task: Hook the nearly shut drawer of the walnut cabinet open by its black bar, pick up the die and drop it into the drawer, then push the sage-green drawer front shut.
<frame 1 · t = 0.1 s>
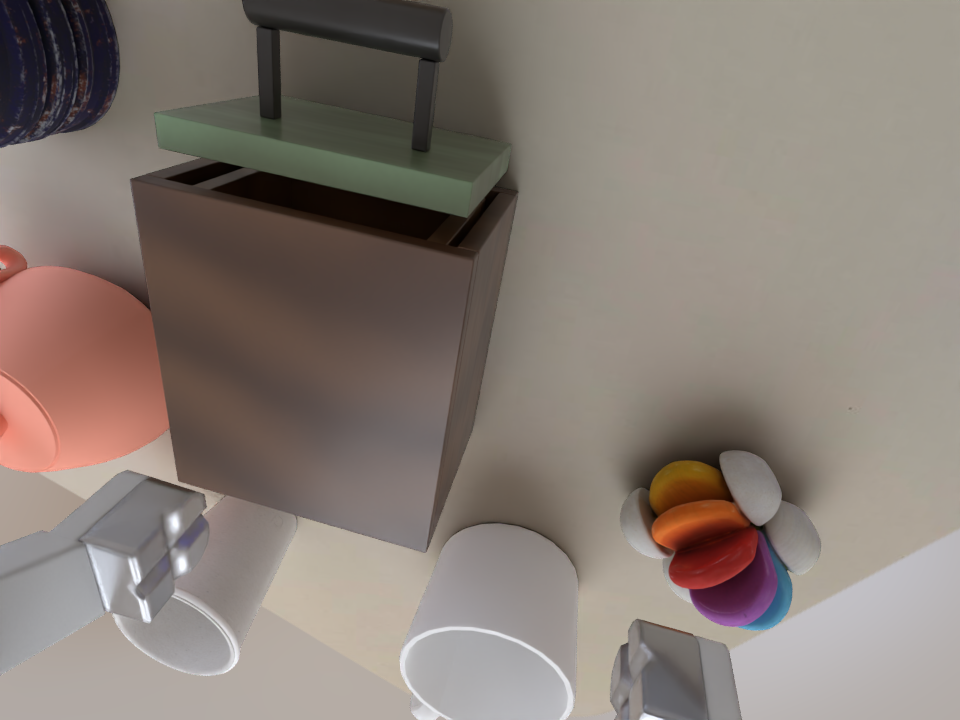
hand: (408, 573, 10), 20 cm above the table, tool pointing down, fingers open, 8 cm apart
sugar bowl: (112, 330, 37), on the table
drawer: (350, 238, 25), point 5 cm above the table, slide at 1.0 cm
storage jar: (33, 27, 28), on the table
cabinet: (381, 299, 31), on the table
rainbow petal toy: (711, 502, 33), on the table
dixie cup: (263, 512, 43), on the table
mug: (495, 579, 41), on the table
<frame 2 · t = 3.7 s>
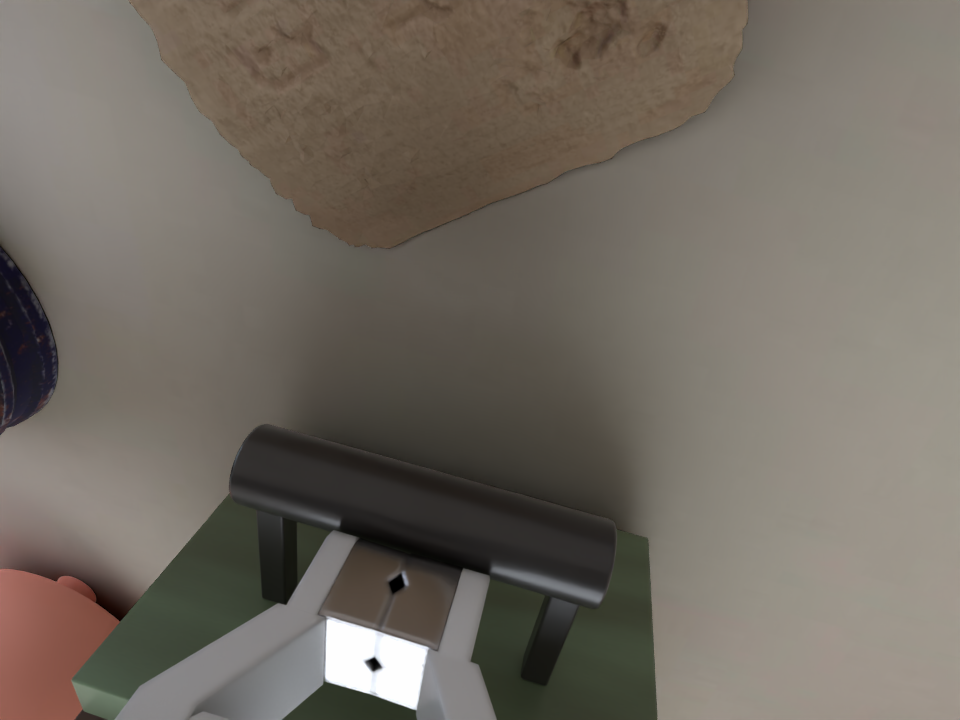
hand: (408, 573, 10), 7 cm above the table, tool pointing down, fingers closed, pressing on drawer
sugar bowl: (68, 611, 28), on the table
drawer: (401, 693, 16), point 5 cm above the table, slide at 1.0 cm, touching gripper
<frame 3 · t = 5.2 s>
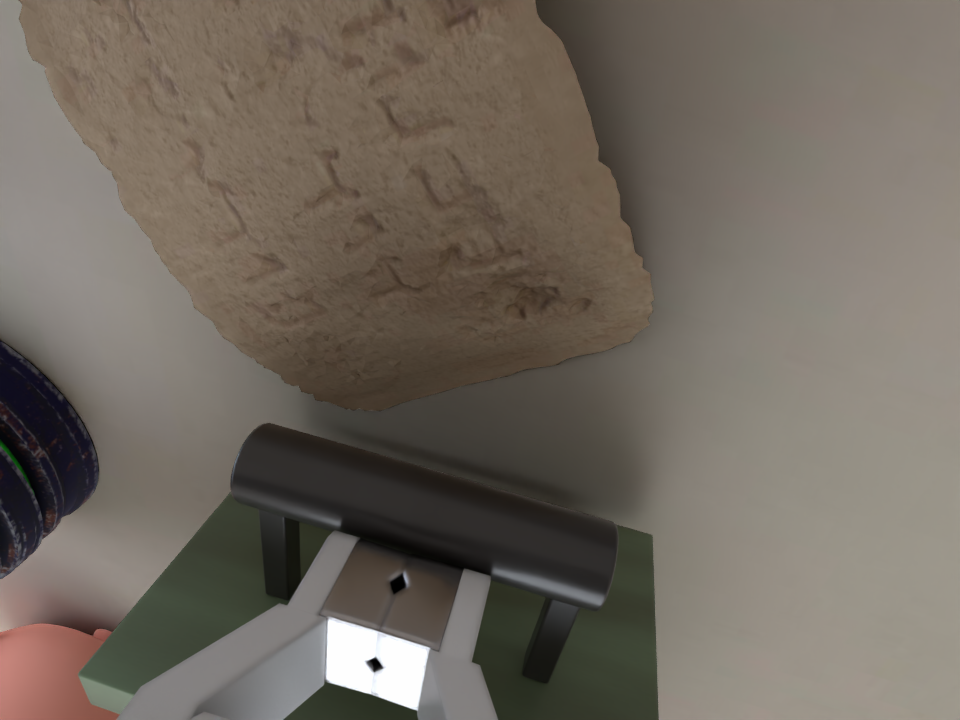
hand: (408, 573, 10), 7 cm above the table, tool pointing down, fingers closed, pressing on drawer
clay tablet: (362, 123, 13), on the table
sugar bowl: (103, 655, 32), on the table
drawer: (404, 685, 16), point 5 cm above the table, slide at 6.4 cm, touching gripper
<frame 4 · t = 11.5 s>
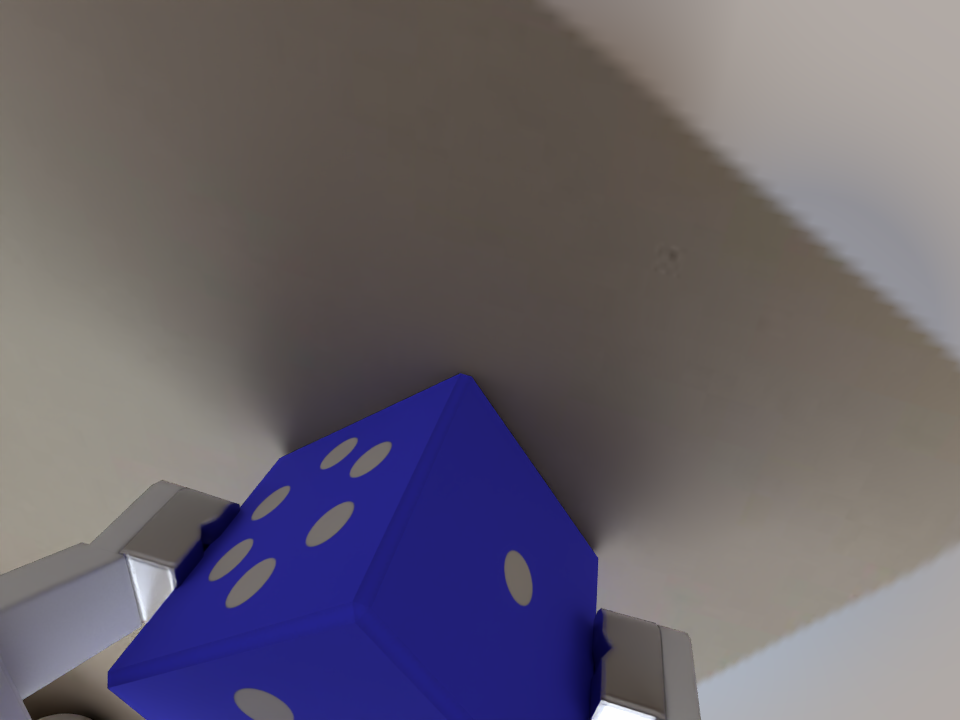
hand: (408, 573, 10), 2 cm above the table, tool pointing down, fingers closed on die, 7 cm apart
die: (439, 498, 12), on the table, touching gripper
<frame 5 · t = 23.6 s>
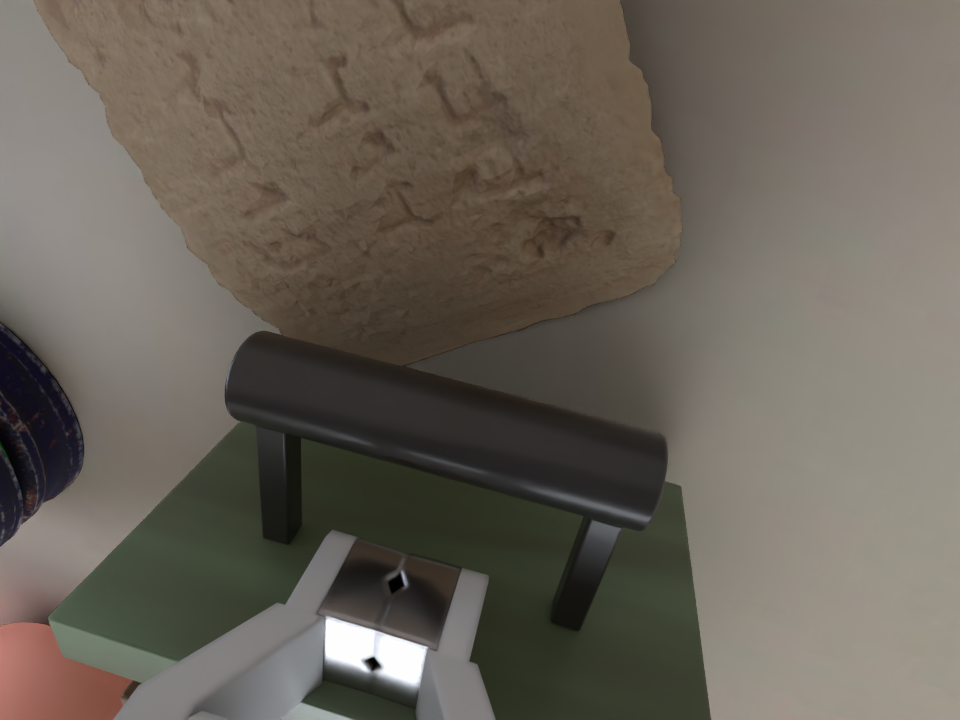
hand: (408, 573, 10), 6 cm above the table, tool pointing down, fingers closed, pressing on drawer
clay tablet: (368, 50, 12), on the table
sugar bowl: (87, 657, 30), on the table
drawer: (414, 653, 15), point 5 cm above the table, slide at 6.9 cm, touching die, gripper
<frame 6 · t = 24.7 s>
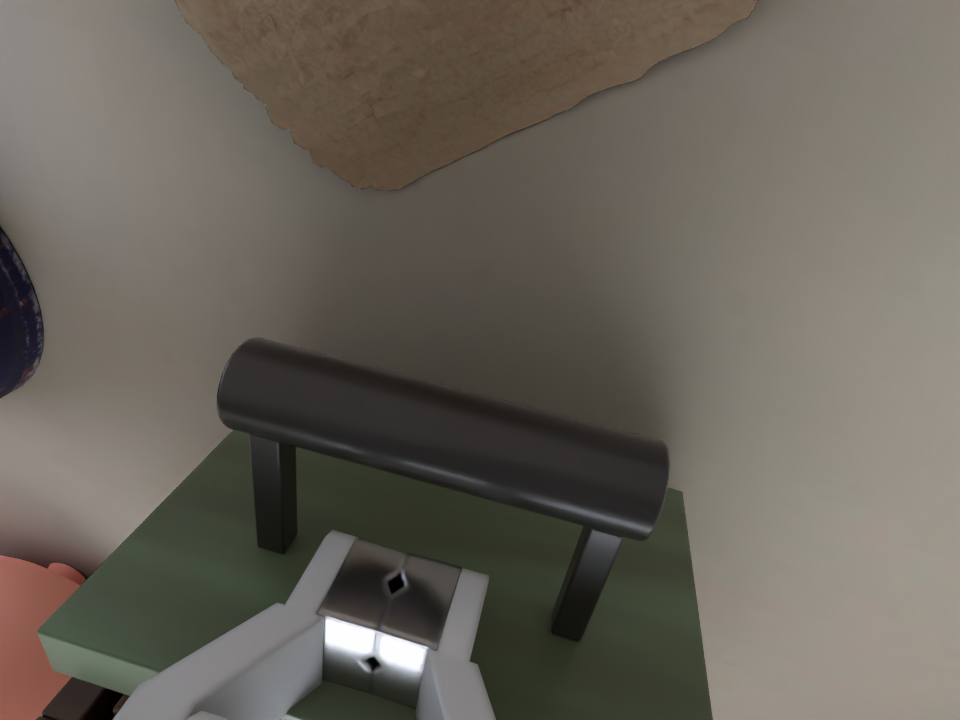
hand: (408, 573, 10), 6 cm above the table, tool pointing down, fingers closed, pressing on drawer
sugar bowl: (60, 601, 27), on the table
drawer: (412, 662, 14), point 5 cm above the table, slide at 1.6 cm, touching die, gripper
cabinet: (438, 626, 21), on the table
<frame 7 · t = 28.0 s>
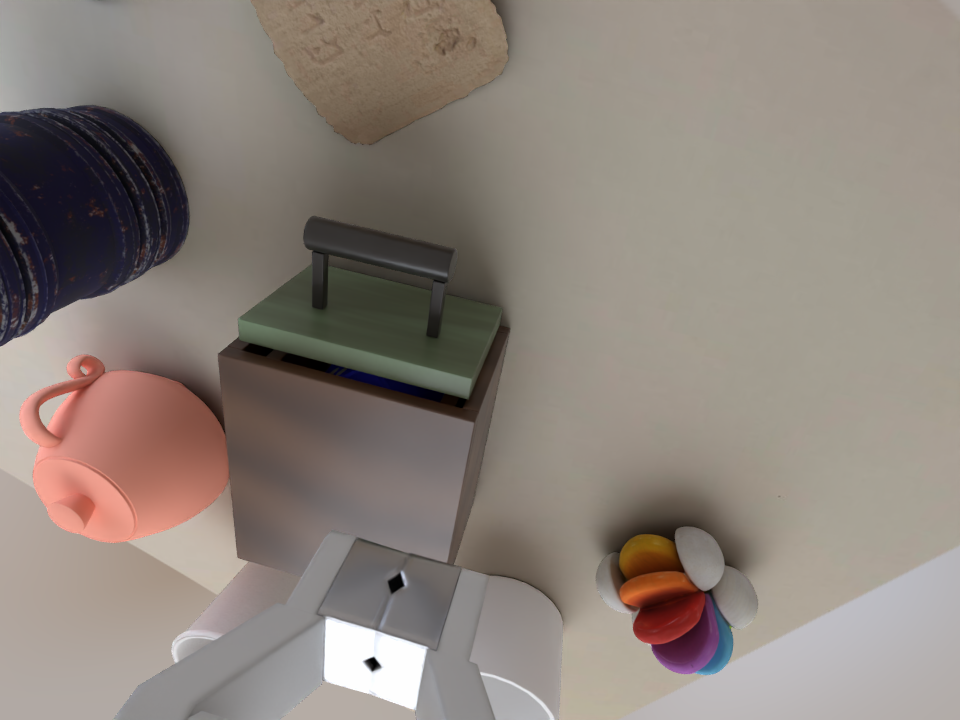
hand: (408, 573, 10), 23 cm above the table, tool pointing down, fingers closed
die: (395, 368, 35), point 2 cm above the table, touching drawer
sugar bowl: (169, 413, 44), on the table
drawer: (377, 383, 32), point 5 cm above the table, slide at 0.4 cm, touching die
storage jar: (119, 190, 35), on the table
cabinet: (399, 400, 38), on the table
rainbow petal toy: (672, 563, 40), on the table
dixie cup: (292, 560, 49), on the table
mug: (493, 620, 48), on the table
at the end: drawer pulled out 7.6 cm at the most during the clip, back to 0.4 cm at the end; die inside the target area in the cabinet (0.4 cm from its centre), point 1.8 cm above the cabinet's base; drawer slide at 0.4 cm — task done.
